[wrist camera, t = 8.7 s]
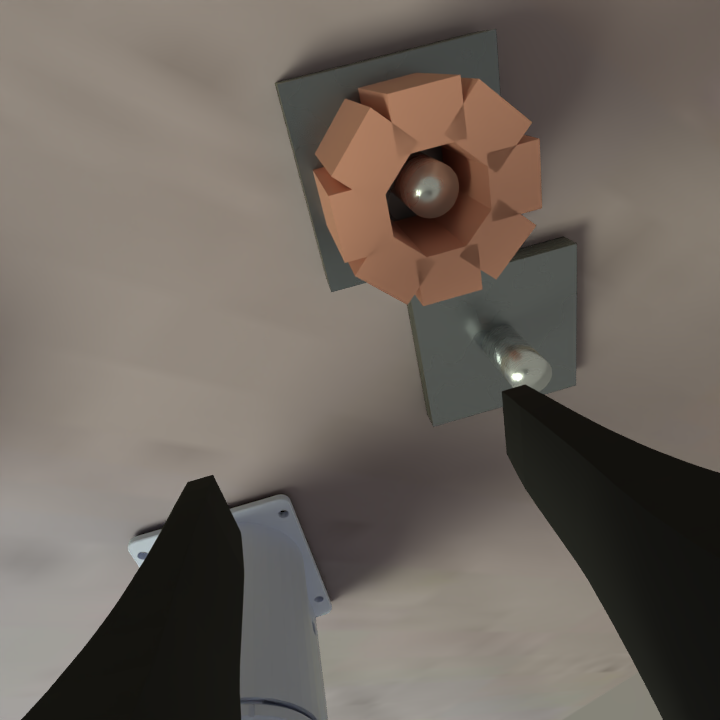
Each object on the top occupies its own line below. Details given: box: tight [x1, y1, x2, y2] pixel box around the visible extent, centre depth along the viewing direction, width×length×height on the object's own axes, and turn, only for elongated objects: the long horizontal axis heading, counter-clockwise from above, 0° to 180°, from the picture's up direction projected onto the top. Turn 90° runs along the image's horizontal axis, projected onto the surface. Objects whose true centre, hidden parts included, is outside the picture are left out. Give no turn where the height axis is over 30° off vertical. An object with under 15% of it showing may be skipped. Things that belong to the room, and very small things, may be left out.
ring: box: [313, 73, 542, 306], centre depth 16 cm, size 6×6×4 cm
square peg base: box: [275, 29, 500, 292], centre depth 17 cm, size 7×7×4 cm
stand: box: [407, 237, 577, 427], centre depth 22 cm, size 7×7×4 cm
